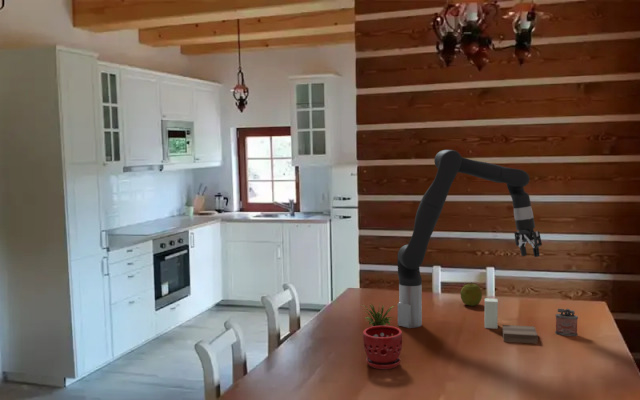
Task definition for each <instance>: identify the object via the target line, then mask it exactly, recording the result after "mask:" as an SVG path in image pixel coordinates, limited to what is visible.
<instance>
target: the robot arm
mask: <svg viewBox="0 0 640 400" xmlns="http://www.w3.org/2000/svg"><path fill="white" fill-rule="evenodd" d="M434 165H435V167H436V168H437V172H436V174H435V178H434V180H433V181H432V183H431V184H430V186H429V187H428V189H427V190H426V192H425V193H424V194H423V195H422V198H421V200H420V202H419V205H418V207H417V210H416V214H415V218H414V225H413V231H412V234H411V235H412V236H410V237H411V238H410V240H409V241H408V244H404V245H403V246H401V247H400V249H399V250H398V252H397V277H398V293H399V294H398V297H399V298H398V302H397V326H400V327H403V328H407V329H411V328H412V329H414V328H419V327H420V328H421V327H422V325H423V324H422V323H423V321H422V319H423V317H422V316H423V315H422V313H423V312H422V311H423V309H422V306H423V304H422V301H423V300H422V299H423V298H422V297H423V296H422V295H423V293H422V291H423V289H422V288H423V287H422V286H423V285H422V282H423V280H422V276H421V271H420V267H421V265H422V264H423V262H424V259H425V255H426V252H427V249H428V246H429V242H430V239H431V237H432V234H433V232H434V230H435V228H436V225H437V223H438V220H439V219H440V216H441V213H442V211H443V208H444V205H445V203H446V200H447V197H448V194H449V192H450V188H451V187H452V185H453V182H454V180H455V178H456V176H457V175H458V173H460V174H465V175H469V176H471V177H472V176H473V177H477V178H479V179H483V180H485V181H490V182H494V183H499V184H506V187H507V190H508V193H509V195H510V197H511V201H512V202H511V203H512V207H513V217H514V222H515V229H516V231H514V233H513V234H514V239H515V246H516V247H517V246H518V247H519V249H520V251H519V252H520V254H521V257H526V256H527V254H528V253H527V248H526V244H529V245H531V247H532V254H533V257H534V258H538V257H540V256H541V255H540V249H539V247H541V246H543V244H542V238H541V234H540V231H535V230H534V229H535V228H536V224H535V223H536V222H535V218H534V212H533V209H532V204H531V197H530V194H529V193H528V192H526V191H525V189H524V187H526V186H528V184H529V183H530V175H529V173H527V172H526V171H525V170H523V169H518V168H513V167H505V166H501V165H497V164H496V163H490V162H487V161H486V162H485V161H479V160H473V159H470V158H466V157H463V156H462V155H461V154H460V152H458V151H457V150H454V149H443V150H440V151H439V152H437V153H436V155H434Z"/></svg>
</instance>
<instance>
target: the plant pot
mask: <svg viewBox="0 0 640 400" xmlns="http://www.w3.org/2000/svg"><path fill="white" fill-rule="evenodd" d="M372 326H373V325H372ZM372 326H368V327H367V328H365V329H364V330H363V331H362V338H363V347H364V348H363V349H364V352H365V354H366V358H365V359H366V360H365V361H366V363H367V365H368V366H370V367H371V368H374V369H379V370H390V369H394V368H396V367H398V366H399V365H400V363H401V358H400V354H401V353H402V348H403V331H402V330H401V329H400V328H399V327H396V326H392V325H390V326H389V325H385V326H373V327H372ZM381 333H384V336H381V335H380V334H381ZM375 334H376V335H378V337H374V335H375Z"/></svg>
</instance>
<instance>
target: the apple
mask: <svg viewBox="0 0 640 400" xmlns="http://www.w3.org/2000/svg"><path fill="white" fill-rule="evenodd" d="M460 299H461V301H462V303H463V304H464V305H467V306H469V307H475V306H477V305H480V303H481V301H482V299H483V292H482V289H481V287H480V286H479V284H476V283H472V281H471V282H470V283H467V284H465V285H463V287H462V288H461V290H460Z"/></svg>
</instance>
